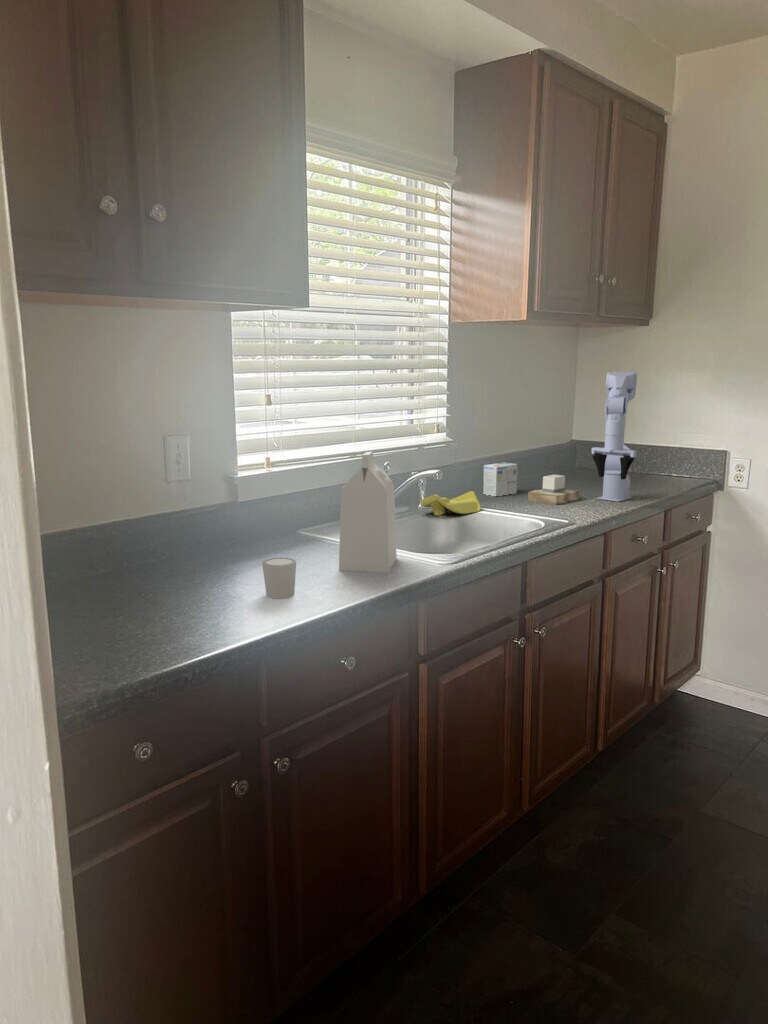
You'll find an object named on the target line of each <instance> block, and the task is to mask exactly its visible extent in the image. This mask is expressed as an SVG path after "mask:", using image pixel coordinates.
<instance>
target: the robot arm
mask: <svg viewBox="0 0 768 1024" xmlns="http://www.w3.org/2000/svg"><path fill="white" fill-rule="evenodd" d="M605 377H606V378H605V379H606V381H605V390H606V397H607V398H606V399H605V402H604V403H605V404H604V413H605V415H604V416H605V418H604V419H605V420H604V421H605V428H604V429H605V430H604V431H605V434H604V447H597V446H596V447H591V455H592V454H594V455H592V459H593V462H594V463H595V465H596V468H597V473H598V478H603V481H602V482H603V484H602V496H599V497H597V500H602V501H611V502H622V501H626V500H629V499H632V496H630V494H631V493H630V492H631V491H630V490H631V477H630V475H629V474H628V473H629V472H630V471H631V466H632V464H633V462H634V460H635V458H637V454H638V453H637V450H632V449H631V448H629V447H628V446H627V445H626V444H624V443H625V442H624V441H625V432H626V431H625V428H626V420H627V413H628V405H629V402H630V401H632V400H633V399H635V396H636V391H637V381H638V373H637V372H636V371H608V372H607V373H606V376H605Z"/></svg>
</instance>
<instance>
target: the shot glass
mask: <svg viewBox="0 0 768 1024" xmlns="http://www.w3.org/2000/svg"><path fill="white" fill-rule="evenodd" d="M261 565H262V571H263V579H264V585H265V593H266V597H267V598H269V599H272V600H283V599H288V598H289V599H290V598H292V597H294V596H295V588H296V574H297V572H296V571H297V570H296V569H297V560H296V559H293V558H289V557H275V558H268V559H265V560H263V561H262V563H261Z"/></svg>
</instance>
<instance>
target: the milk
mask: <svg viewBox="0 0 768 1024" xmlns="http://www.w3.org/2000/svg"><path fill="white" fill-rule="evenodd" d="M374 459H375V458H374V452H373V451H366V452H364V453H363V454H362V455H361V468H360V469H359V470H358V471H357V472H355V474H354V475H353V476H351V478H350V479H349V480H347V482H346V483H345V484H344V485H343V486H342V488H341V493H340V521H339V524H340V525H339V553H338V555H339V558H338V571H351V572H353V571H354V572H377V573H390V571H391V569H392V567H394V564H395V562H396V561H397V559H398V558H397V557H398V556H397V555H398V554H397V535H396V532H397V529H396V506H395V505H396V504H395V503H396V502H395V486H394V482H393V480H392V479H391V478H390V476H389V475H388V474H387V472H386V471H385V470H384V469H383V468H382V467H380V466H378V465H377V464H376V463H375V460H374Z"/></svg>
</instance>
